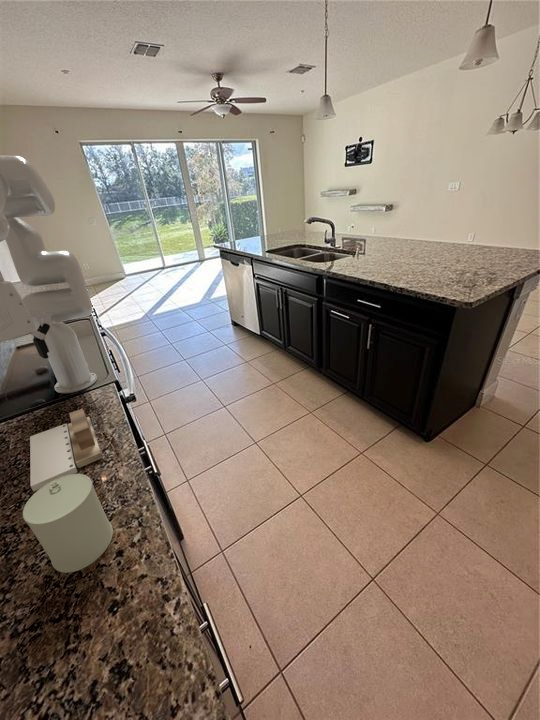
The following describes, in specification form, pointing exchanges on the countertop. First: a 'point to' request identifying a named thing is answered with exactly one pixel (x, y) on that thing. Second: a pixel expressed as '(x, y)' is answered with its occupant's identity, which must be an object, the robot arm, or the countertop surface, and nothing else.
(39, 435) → the board
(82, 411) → the stub
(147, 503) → the countertop surface
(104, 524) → the can
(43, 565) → the countertop surface
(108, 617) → the countertop surface
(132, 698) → the countertop surface
